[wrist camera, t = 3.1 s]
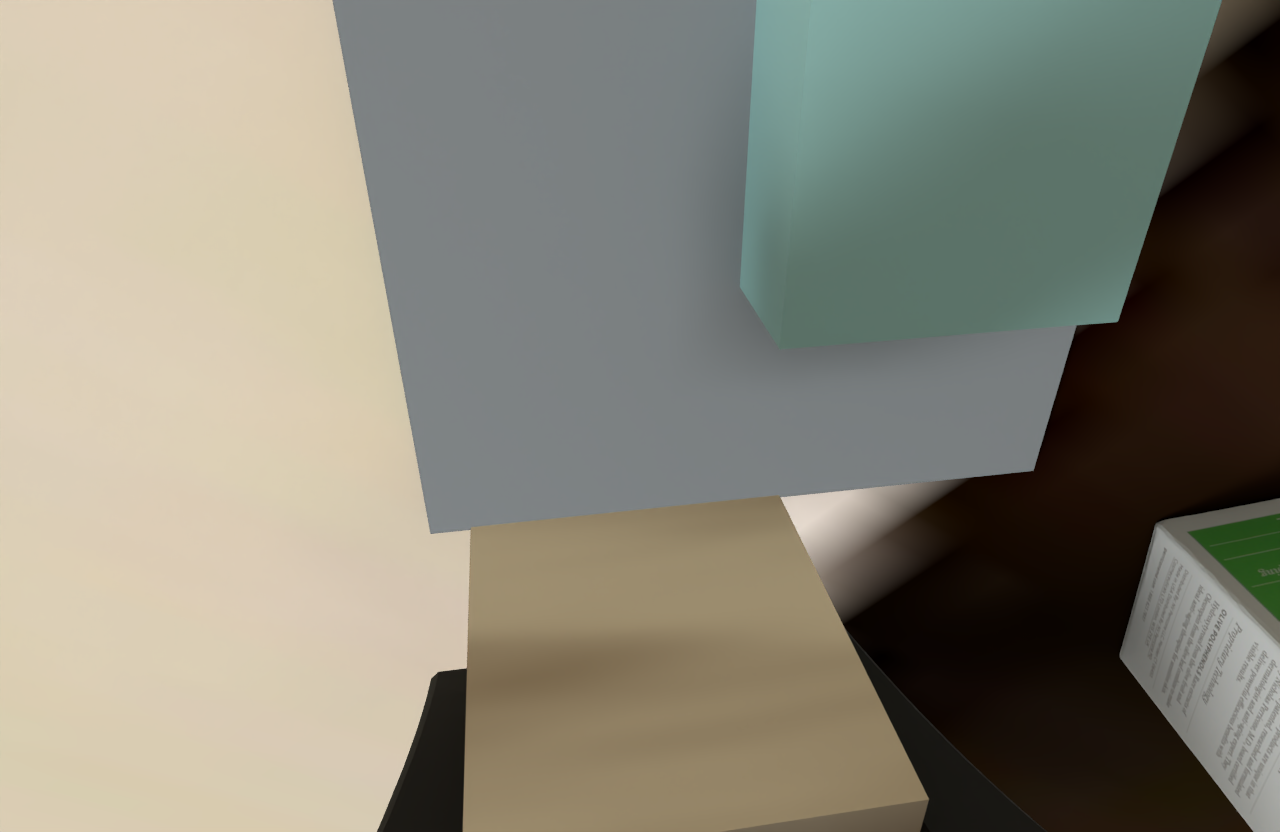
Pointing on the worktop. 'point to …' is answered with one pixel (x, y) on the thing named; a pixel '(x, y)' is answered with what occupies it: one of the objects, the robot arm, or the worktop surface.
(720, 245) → the mat
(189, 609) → the worktop surface
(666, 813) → the maple block
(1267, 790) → the skincare box
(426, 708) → the robot arm
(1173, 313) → the worktop surface
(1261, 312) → the worktop surface
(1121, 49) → the plinth
